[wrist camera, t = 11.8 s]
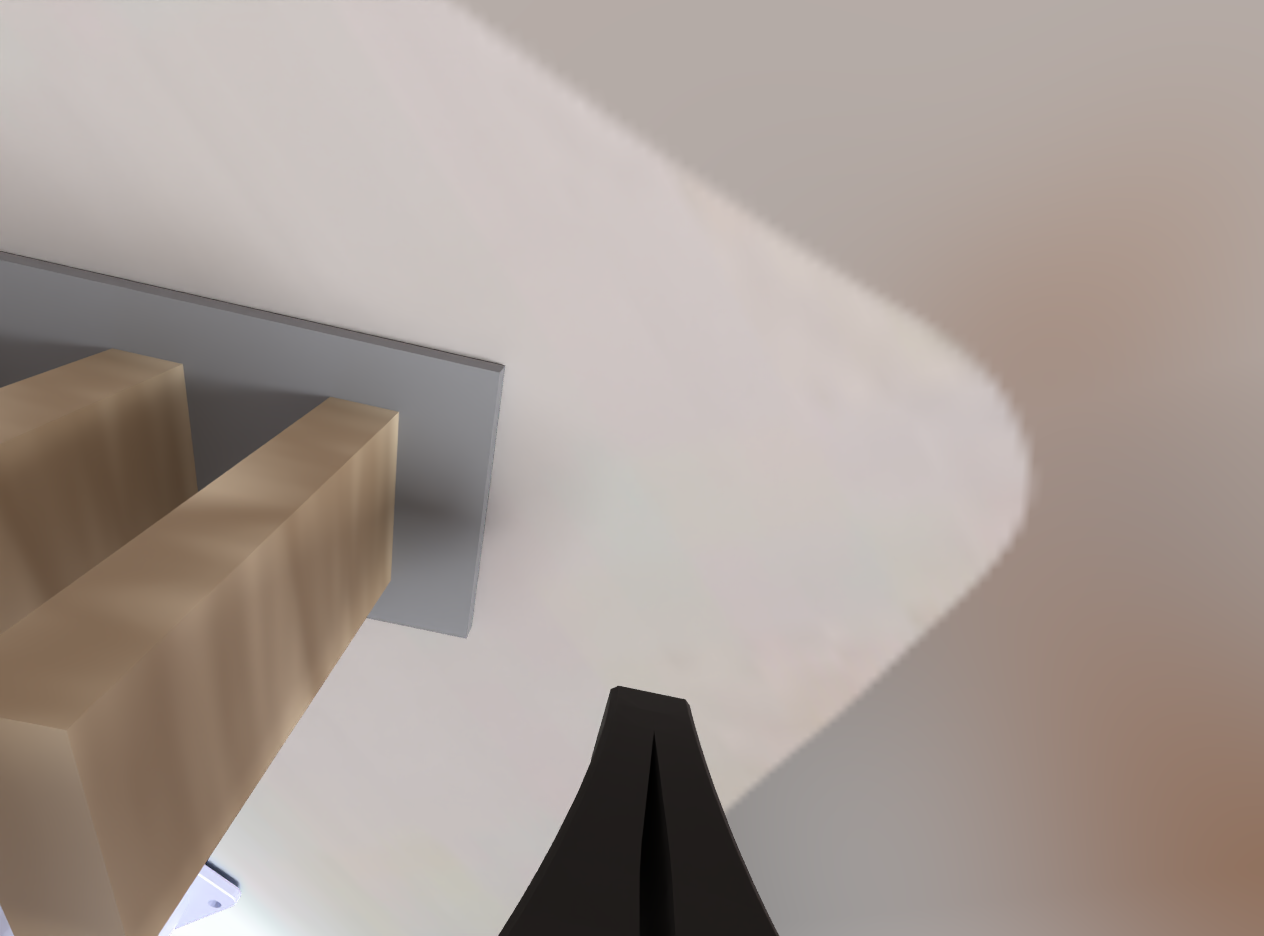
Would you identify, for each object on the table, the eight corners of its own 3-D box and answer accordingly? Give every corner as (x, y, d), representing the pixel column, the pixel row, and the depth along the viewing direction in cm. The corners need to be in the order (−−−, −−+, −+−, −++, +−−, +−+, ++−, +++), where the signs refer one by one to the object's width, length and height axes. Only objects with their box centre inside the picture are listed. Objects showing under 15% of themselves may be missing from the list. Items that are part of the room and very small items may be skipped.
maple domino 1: (398, 411, 15) (66, 730, 7) (390, 580, 17) (135, 969, 9) (330, 396, 15) (-90, 699, 7) (331, 567, 17) (20, 948, 9)
